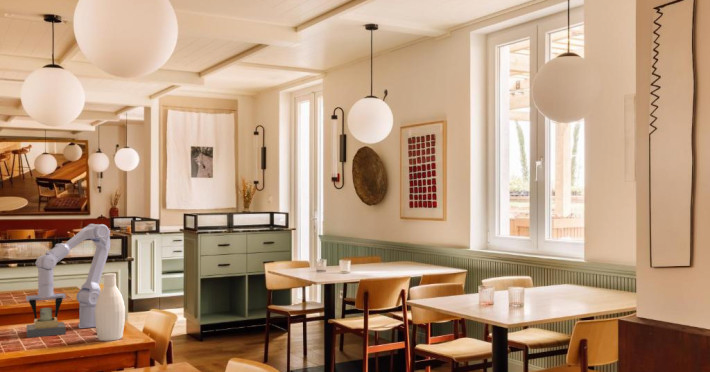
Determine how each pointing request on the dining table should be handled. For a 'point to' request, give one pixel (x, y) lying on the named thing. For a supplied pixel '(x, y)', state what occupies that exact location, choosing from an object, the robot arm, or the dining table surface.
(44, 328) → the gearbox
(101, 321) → the bottle
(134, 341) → the dining table surface
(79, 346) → the dining table surface
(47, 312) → the spout can
